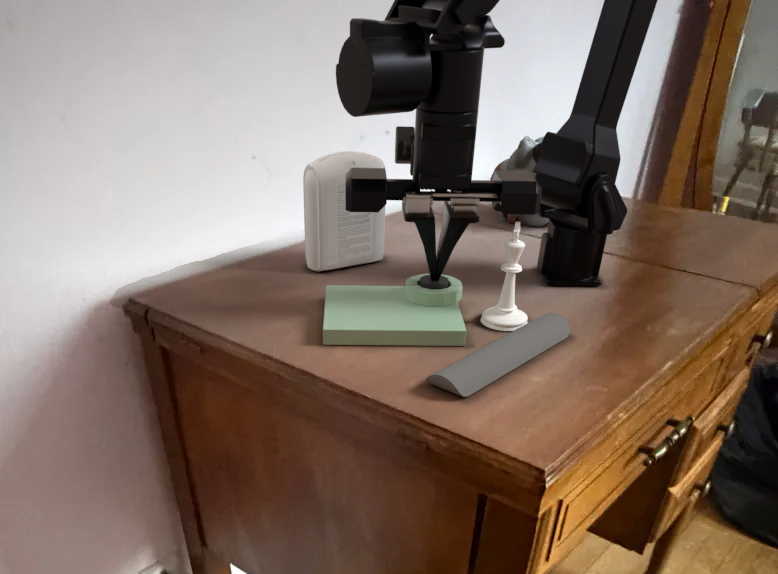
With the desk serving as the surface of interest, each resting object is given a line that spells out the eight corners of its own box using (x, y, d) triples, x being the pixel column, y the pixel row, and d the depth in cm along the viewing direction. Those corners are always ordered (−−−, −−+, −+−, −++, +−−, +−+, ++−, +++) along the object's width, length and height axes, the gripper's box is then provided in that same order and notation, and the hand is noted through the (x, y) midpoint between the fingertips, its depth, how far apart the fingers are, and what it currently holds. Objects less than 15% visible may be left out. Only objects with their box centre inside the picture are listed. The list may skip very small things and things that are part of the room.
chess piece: (530, 316, 77) (547, 218, 71) (523, 334, 73) (539, 232, 67) (485, 310, 78) (497, 212, 72) (476, 327, 75) (487, 226, 68)
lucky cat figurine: (578, 205, 111) (628, 124, 99) (571, 259, 106) (622, 180, 94) (488, 171, 110) (528, 83, 97) (477, 224, 104) (516, 138, 92)
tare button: (445, 288, 78) (447, 274, 77) (448, 299, 75) (449, 284, 75) (418, 288, 78) (419, 274, 77) (420, 298, 75) (421, 284, 74)
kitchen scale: (455, 300, 80) (458, 273, 78) (469, 346, 71) (472, 316, 69) (326, 299, 80) (326, 272, 78) (323, 345, 70) (322, 315, 69)
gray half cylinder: (572, 335, 73) (575, 318, 72) (459, 402, 62) (461, 384, 61) (536, 324, 75) (539, 307, 74) (420, 387, 64) (422, 368, 63)
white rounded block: (370, 252, 93) (372, 144, 85) (389, 261, 90) (392, 151, 82) (300, 265, 88) (295, 153, 80) (318, 275, 85) (314, 160, 78)
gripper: (531, 96, 72) (509, 255, 82) (345, 93, 72) (346, 253, 82) (555, 116, 64) (528, 290, 74) (345, 112, 63) (345, 288, 73)
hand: (434, 279), depth 76 cm, fingers closed, pressing on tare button
